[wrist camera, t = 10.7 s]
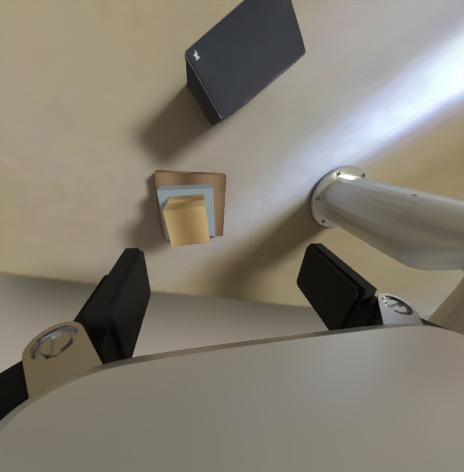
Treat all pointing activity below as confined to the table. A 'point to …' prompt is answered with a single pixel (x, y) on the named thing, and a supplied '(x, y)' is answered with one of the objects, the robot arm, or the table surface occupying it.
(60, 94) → the table surface
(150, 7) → the table surface
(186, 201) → the block
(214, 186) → the tower base
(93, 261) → the table surface
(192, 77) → the small box
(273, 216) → the table surface
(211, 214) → the tower top
